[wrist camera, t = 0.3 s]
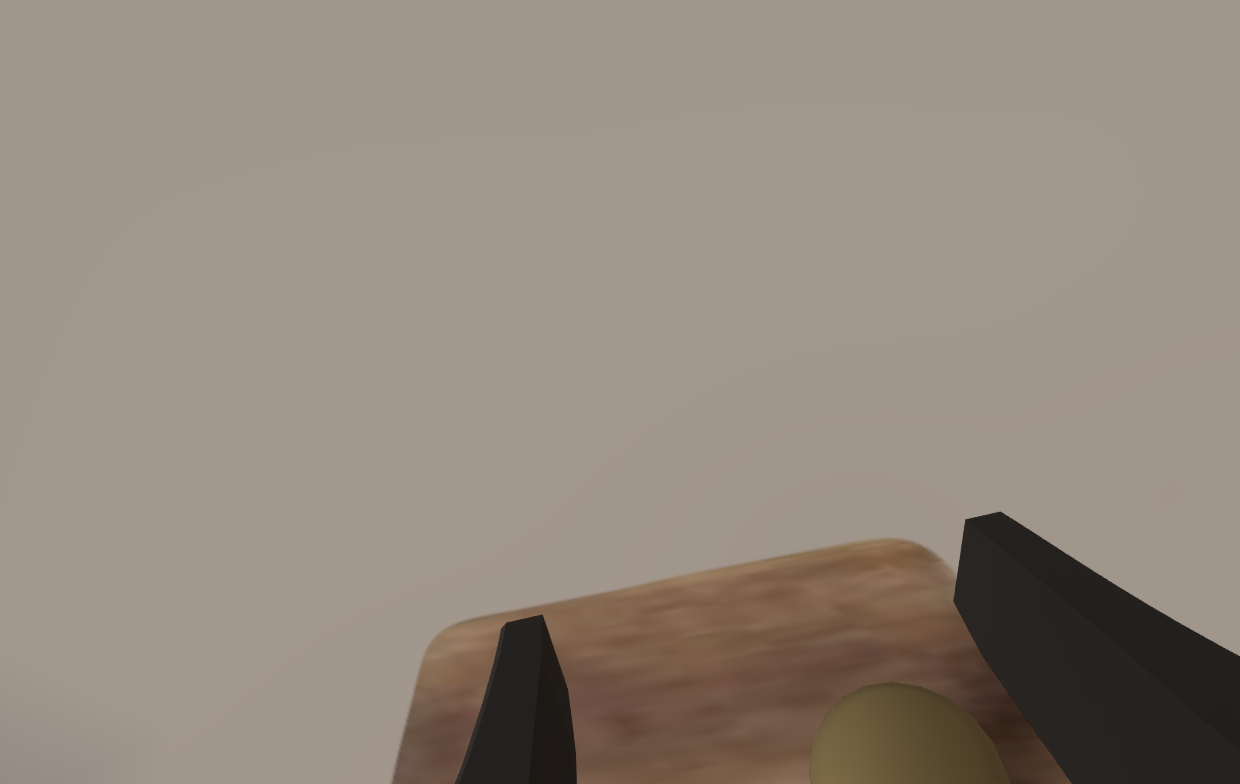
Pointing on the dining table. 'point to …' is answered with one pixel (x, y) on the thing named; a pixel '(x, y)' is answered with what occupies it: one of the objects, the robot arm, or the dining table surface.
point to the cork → (902, 741)
